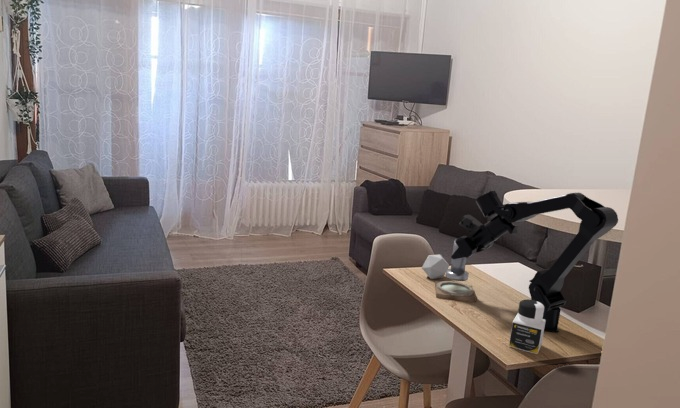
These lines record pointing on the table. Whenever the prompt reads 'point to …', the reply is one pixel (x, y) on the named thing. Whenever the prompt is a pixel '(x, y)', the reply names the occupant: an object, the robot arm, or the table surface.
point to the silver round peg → (457, 268)
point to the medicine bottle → (528, 327)
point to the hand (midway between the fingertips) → (455, 256)
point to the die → (435, 266)
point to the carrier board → (454, 291)
